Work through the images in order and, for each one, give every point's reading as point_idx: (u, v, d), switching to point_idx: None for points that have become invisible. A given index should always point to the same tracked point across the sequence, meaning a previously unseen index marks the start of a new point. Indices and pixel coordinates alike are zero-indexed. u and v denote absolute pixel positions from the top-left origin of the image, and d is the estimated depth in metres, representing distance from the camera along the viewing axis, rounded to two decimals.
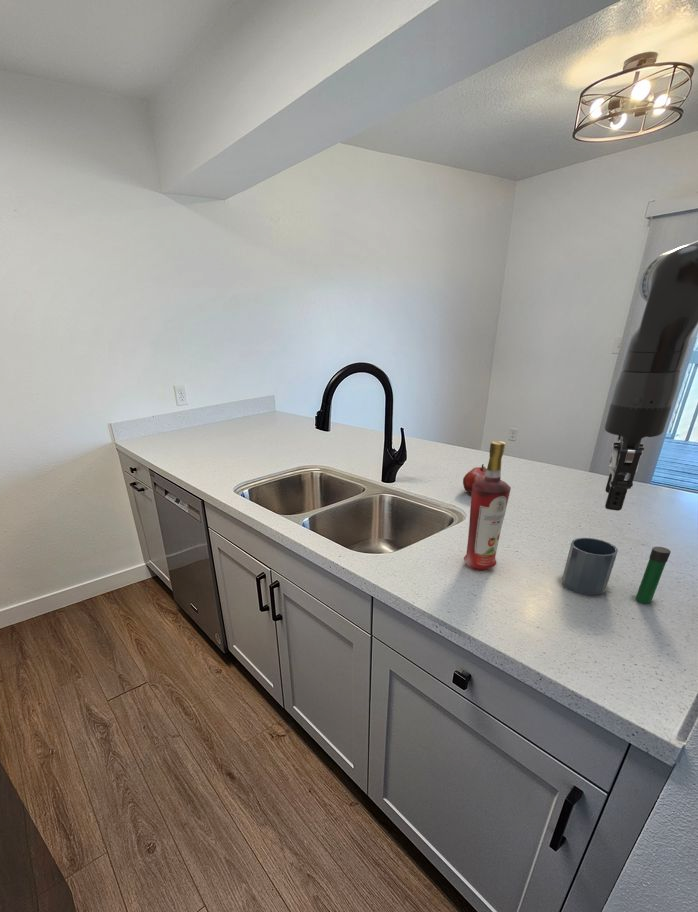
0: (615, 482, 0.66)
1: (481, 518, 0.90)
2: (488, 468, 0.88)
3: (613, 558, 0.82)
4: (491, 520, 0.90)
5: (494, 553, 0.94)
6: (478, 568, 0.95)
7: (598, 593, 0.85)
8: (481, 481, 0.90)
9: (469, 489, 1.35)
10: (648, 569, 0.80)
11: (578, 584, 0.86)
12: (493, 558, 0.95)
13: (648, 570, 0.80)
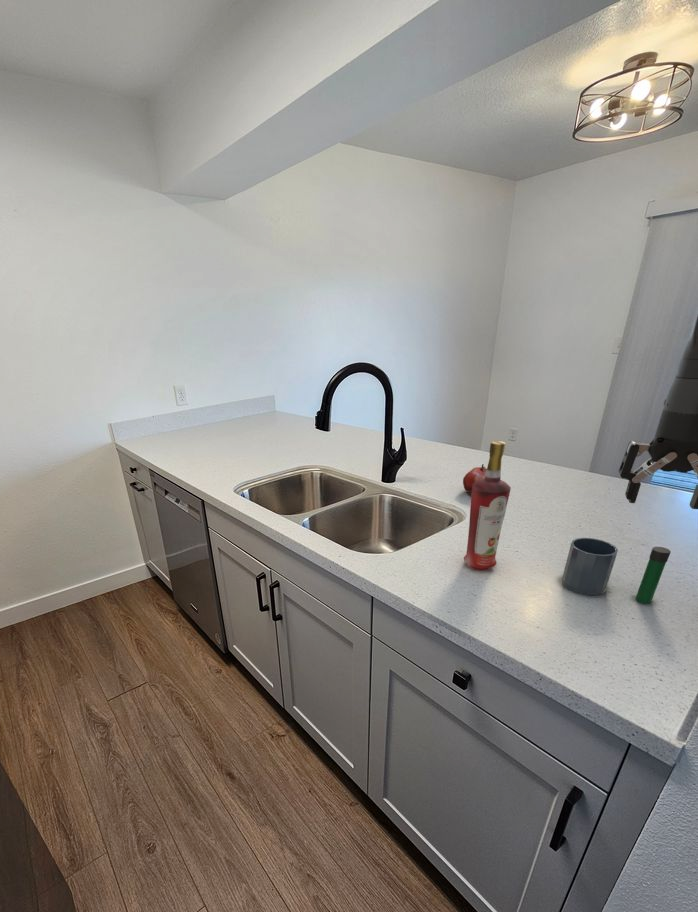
0: (619, 469, 0.76)
1: (481, 518, 0.90)
2: (488, 468, 0.88)
3: (613, 558, 0.82)
4: (491, 520, 0.90)
5: (494, 553, 0.94)
6: (478, 568, 0.95)
7: (598, 593, 0.85)
8: (481, 481, 0.90)
9: (469, 489, 1.35)
10: (648, 569, 0.80)
11: (578, 584, 0.86)
12: (493, 558, 0.95)
13: (648, 570, 0.80)
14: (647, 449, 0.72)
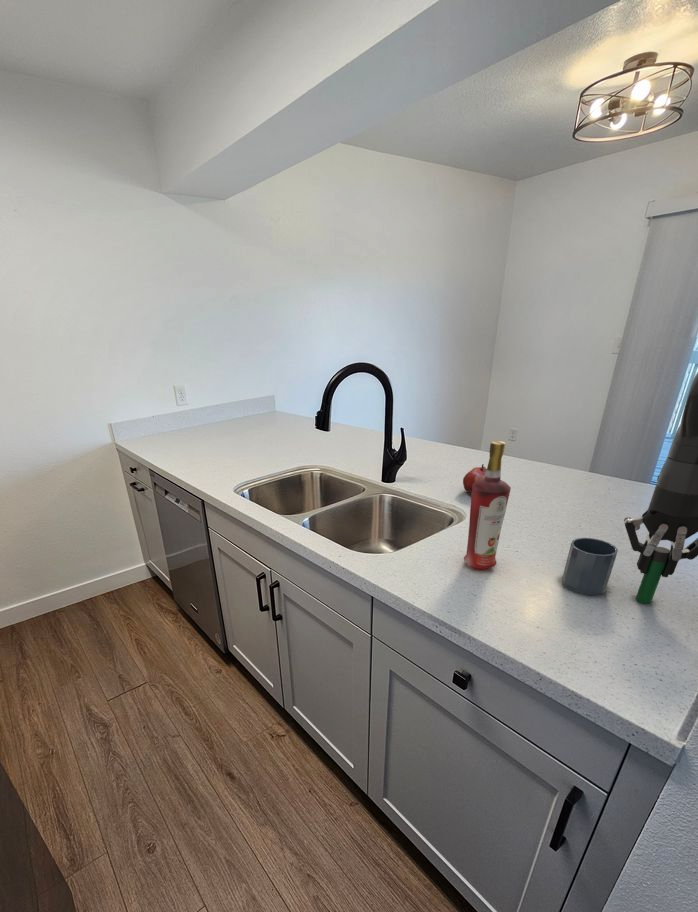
0: None
1: (481, 518, 0.90)
2: (488, 468, 0.88)
3: (613, 558, 0.82)
4: (491, 520, 0.90)
5: (494, 553, 0.94)
6: (478, 568, 0.95)
7: (598, 593, 0.85)
8: (481, 481, 0.90)
9: (469, 489, 1.35)
10: (648, 569, 0.80)
11: (578, 584, 0.86)
12: (493, 558, 0.95)
13: (648, 570, 0.80)
14: (641, 518, 0.78)
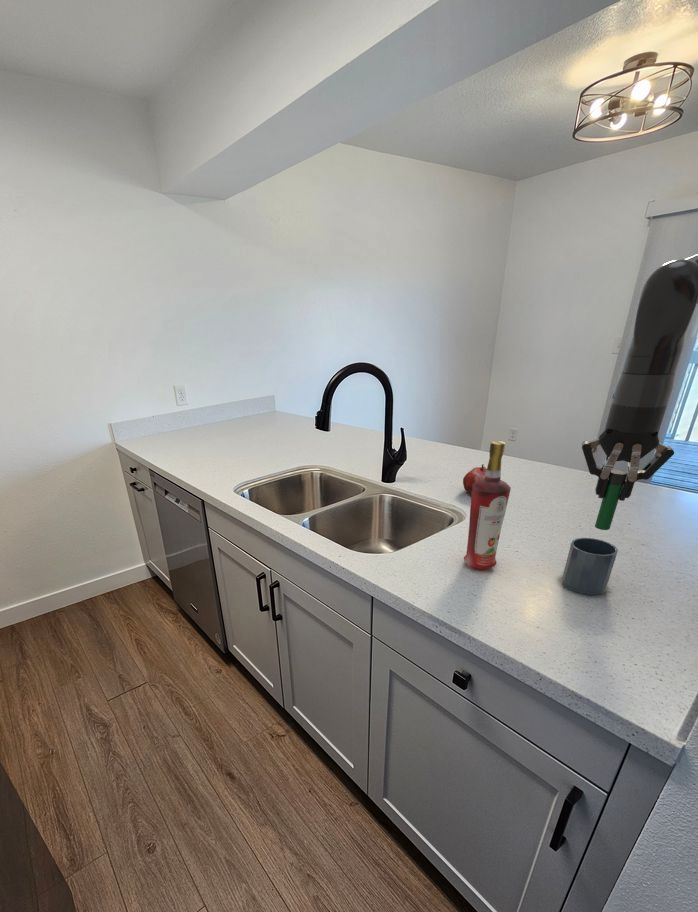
0: None
1: (481, 518, 0.90)
2: (488, 468, 0.88)
3: (613, 558, 0.82)
4: (491, 520, 0.90)
5: (494, 553, 0.94)
6: (478, 568, 0.95)
7: (598, 593, 0.85)
8: (481, 481, 0.90)
9: (469, 489, 1.35)
10: (605, 494, 0.80)
11: (578, 584, 0.86)
12: (493, 558, 0.95)
13: (606, 494, 0.80)
14: (598, 440, 0.77)
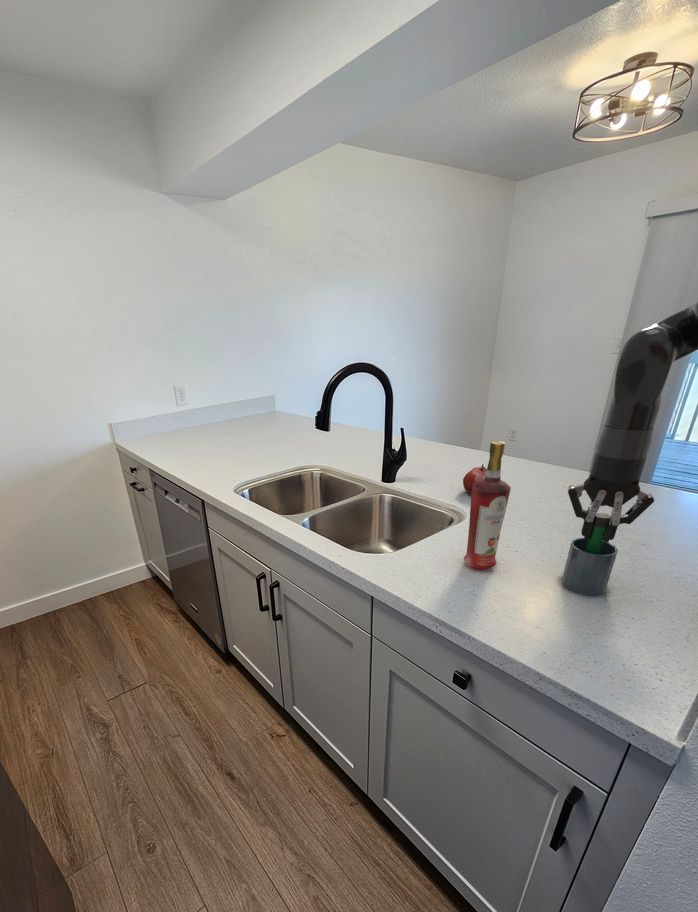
0: None
1: (481, 518, 0.90)
2: (488, 468, 0.88)
3: (613, 558, 0.82)
4: (491, 520, 0.90)
5: (494, 553, 0.94)
6: (478, 568, 0.95)
7: (598, 593, 0.85)
8: (481, 481, 0.90)
9: (469, 489, 1.35)
10: (591, 535, 0.84)
11: (578, 584, 0.86)
12: (493, 558, 0.95)
13: (591, 535, 0.84)
14: (583, 485, 0.81)
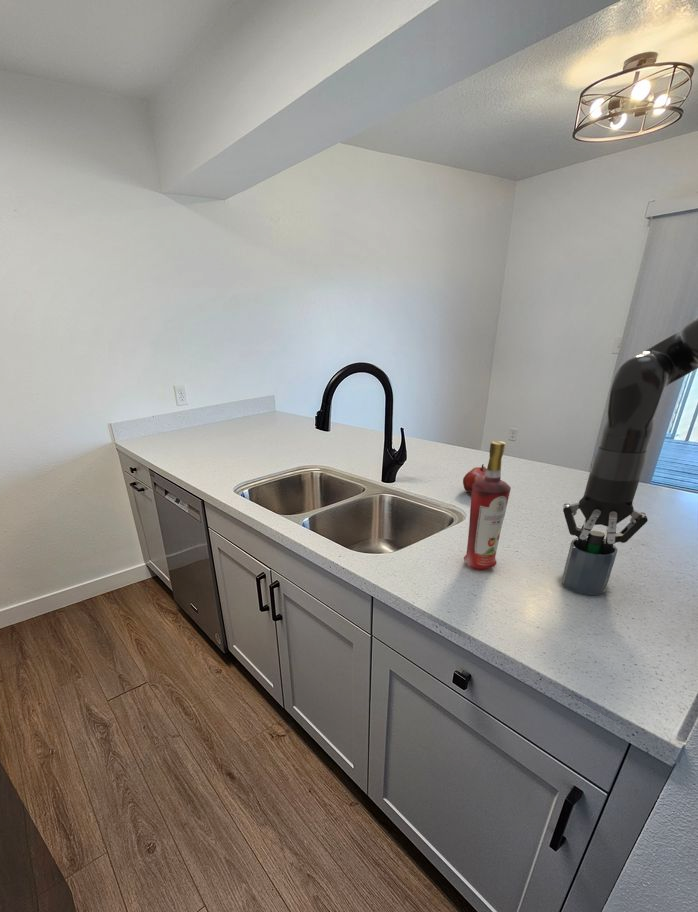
0: None
1: (481, 518, 0.90)
2: (488, 468, 0.88)
3: (612, 558, 0.82)
4: (491, 520, 0.90)
5: (494, 553, 0.94)
6: (478, 568, 0.95)
7: (598, 593, 0.85)
8: (481, 481, 0.90)
9: (469, 489, 1.35)
10: None
11: (578, 584, 0.86)
12: (493, 558, 0.95)
13: None
14: (577, 504, 0.83)
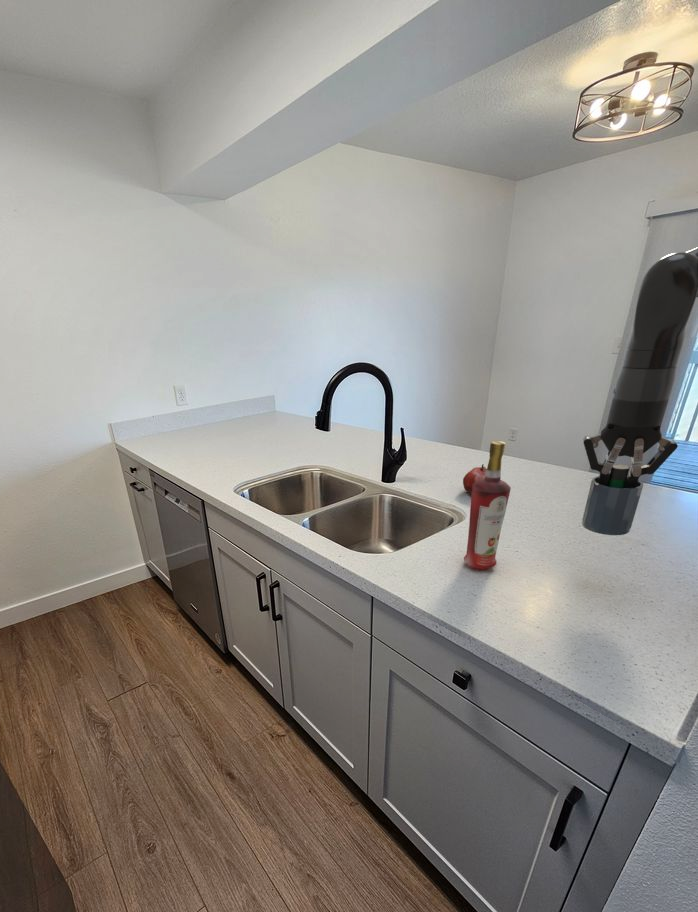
0: None
1: (481, 518, 0.90)
2: (488, 468, 0.88)
3: (638, 492, 0.76)
4: (491, 520, 0.90)
5: (494, 553, 0.94)
6: (478, 568, 0.95)
7: (622, 532, 0.79)
8: (481, 481, 0.90)
9: (469, 489, 1.35)
10: None
11: (601, 523, 0.79)
12: (493, 558, 0.95)
13: None
14: (599, 435, 0.77)
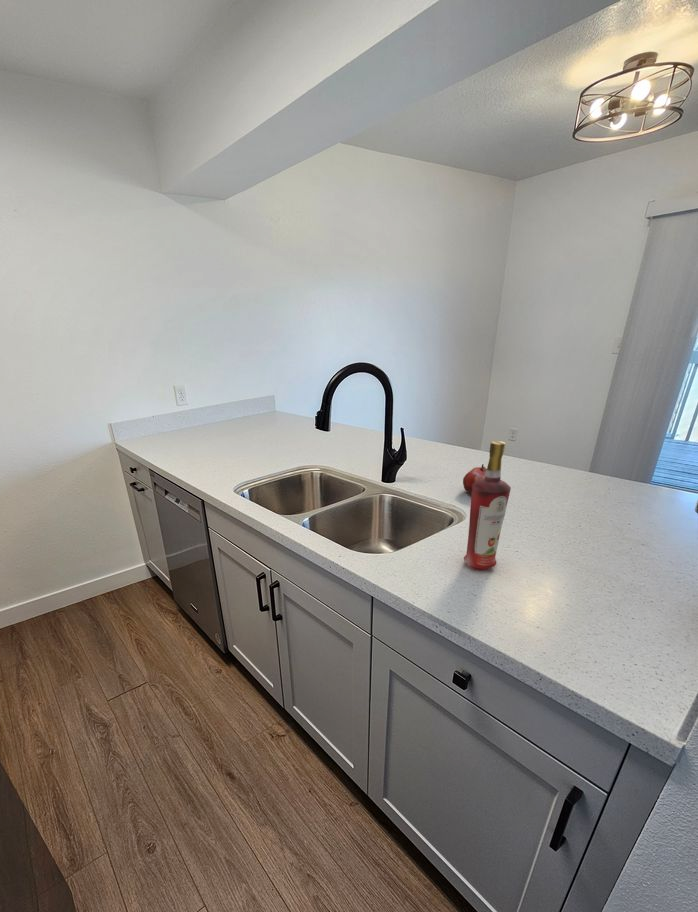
0: None
1: (481, 518, 0.90)
2: (488, 468, 0.88)
3: None
4: (491, 520, 0.90)
5: (494, 553, 0.94)
6: (478, 568, 0.95)
7: None
8: (481, 481, 0.90)
9: (469, 489, 1.35)
10: None
11: None
12: (493, 558, 0.95)
13: None
14: None
